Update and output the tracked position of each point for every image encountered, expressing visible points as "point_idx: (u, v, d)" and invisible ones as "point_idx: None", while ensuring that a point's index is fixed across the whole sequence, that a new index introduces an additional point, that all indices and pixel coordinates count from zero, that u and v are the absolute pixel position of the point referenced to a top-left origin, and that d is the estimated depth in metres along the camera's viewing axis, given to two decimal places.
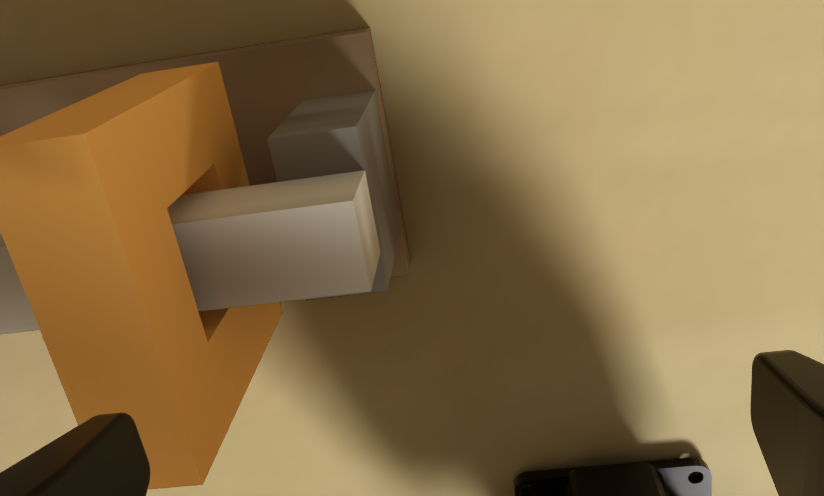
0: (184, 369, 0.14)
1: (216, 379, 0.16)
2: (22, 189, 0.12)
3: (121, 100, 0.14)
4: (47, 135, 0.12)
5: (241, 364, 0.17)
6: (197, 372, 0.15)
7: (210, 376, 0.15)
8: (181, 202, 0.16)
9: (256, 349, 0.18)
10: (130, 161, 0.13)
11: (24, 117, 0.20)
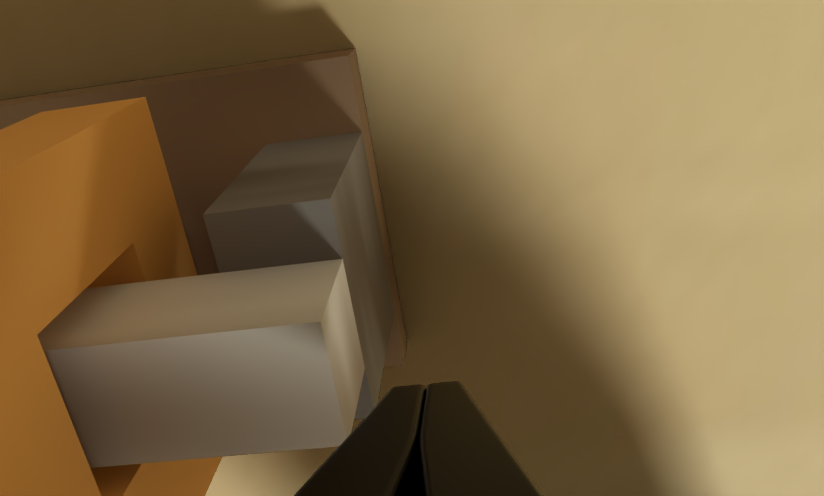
0: None
1: None
2: None
3: None
4: None
5: None
6: None
7: None
8: (80, 303, 0.11)
9: (197, 488, 0.13)
10: None
11: None
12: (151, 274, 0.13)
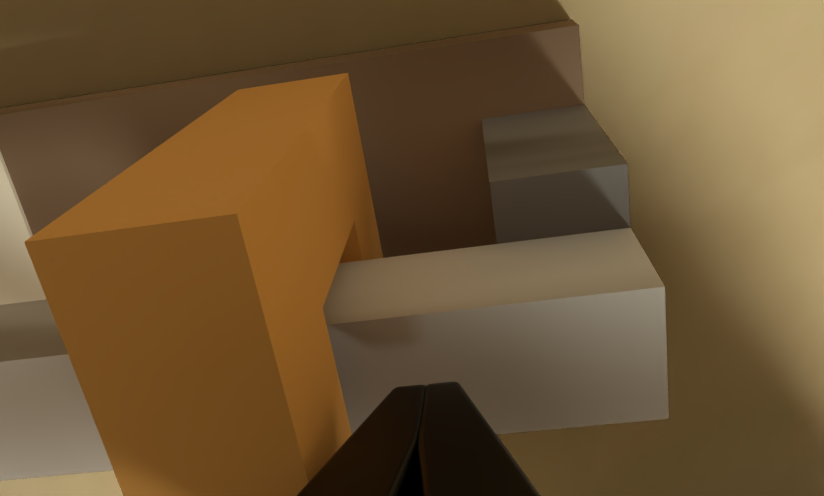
0: None
1: None
2: (119, 306, 0.07)
3: (248, 137, 0.09)
4: (163, 212, 0.07)
5: None
6: None
7: None
8: (360, 275, 0.11)
9: None
10: (286, 245, 0.08)
11: (98, 142, 0.15)
12: (364, 253, 0.12)
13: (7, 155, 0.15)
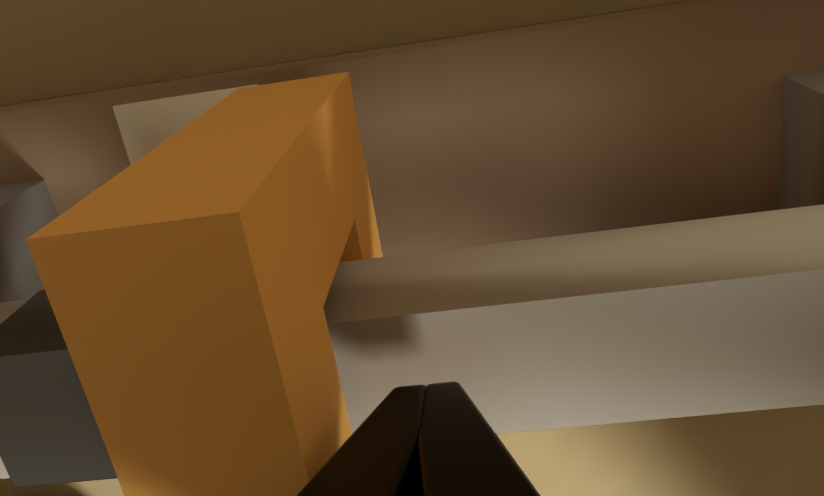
0: None
1: None
2: (119, 305, 0.07)
3: (249, 136, 0.09)
4: (165, 211, 0.07)
5: None
6: None
7: None
8: (760, 228, 0.10)
9: None
10: (287, 244, 0.08)
11: (370, 101, 0.15)
12: (364, 252, 0.12)
13: None
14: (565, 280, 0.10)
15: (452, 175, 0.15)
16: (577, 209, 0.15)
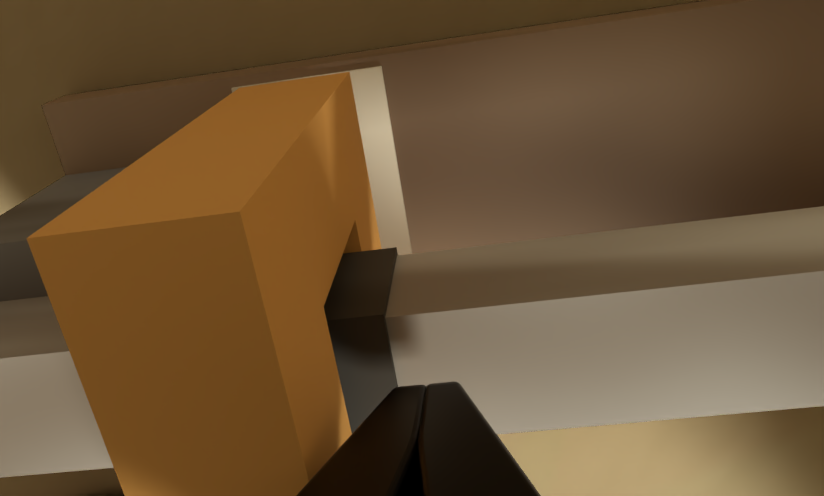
0: None
1: None
2: (120, 303, 0.07)
3: (250, 136, 0.09)
4: (166, 210, 0.07)
5: None
6: None
7: None
8: None
9: None
10: (288, 244, 0.08)
11: (496, 83, 0.14)
12: None
13: (392, 98, 0.14)
14: (759, 260, 0.09)
15: (575, 160, 0.15)
16: (701, 195, 0.15)
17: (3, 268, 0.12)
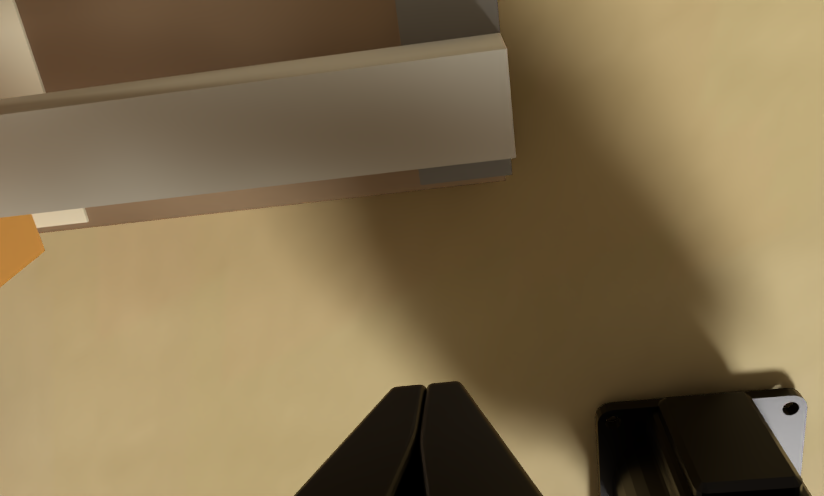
0: None
1: None
2: None
3: None
4: None
5: None
6: None
7: None
8: (296, 63, 0.15)
9: None
10: None
11: None
12: None
13: (21, 6, 0.19)
14: (142, 91, 0.14)
15: (167, 57, 0.19)
16: None
17: None
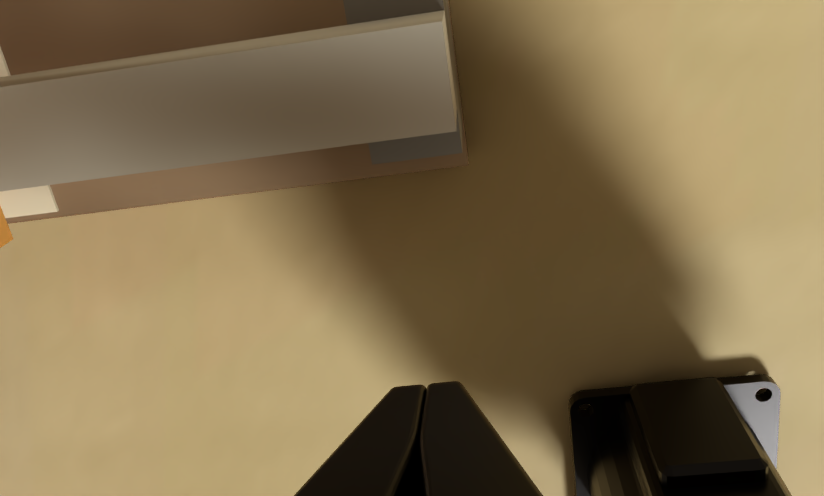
0: None
1: None
2: None
3: None
4: None
5: None
6: None
7: None
8: (243, 43, 0.15)
9: None
10: None
11: None
12: None
13: None
14: (89, 71, 0.14)
15: (131, 46, 0.19)
16: None
17: None
